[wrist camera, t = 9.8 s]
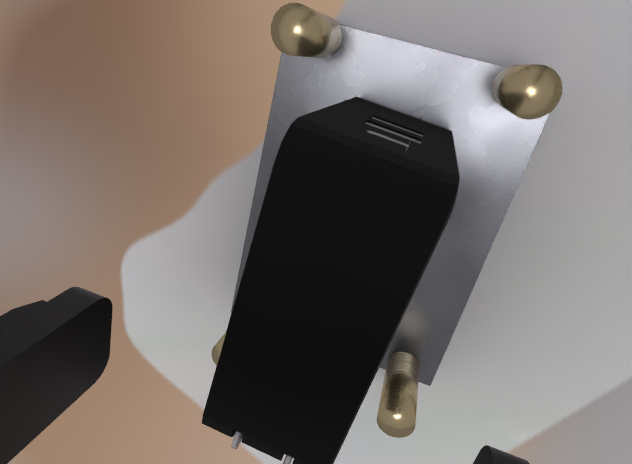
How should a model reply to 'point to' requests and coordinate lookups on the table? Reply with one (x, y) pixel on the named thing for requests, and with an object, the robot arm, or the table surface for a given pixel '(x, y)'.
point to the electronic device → (330, 275)
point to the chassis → (471, 151)
